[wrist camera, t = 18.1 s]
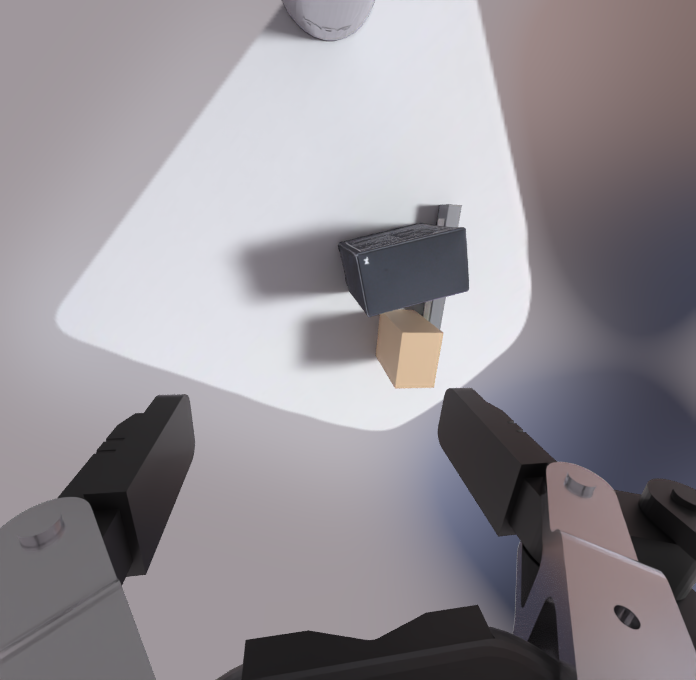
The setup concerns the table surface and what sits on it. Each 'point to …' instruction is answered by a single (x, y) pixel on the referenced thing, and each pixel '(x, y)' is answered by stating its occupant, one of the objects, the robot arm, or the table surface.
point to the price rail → (435, 308)
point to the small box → (405, 266)
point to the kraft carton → (408, 348)
